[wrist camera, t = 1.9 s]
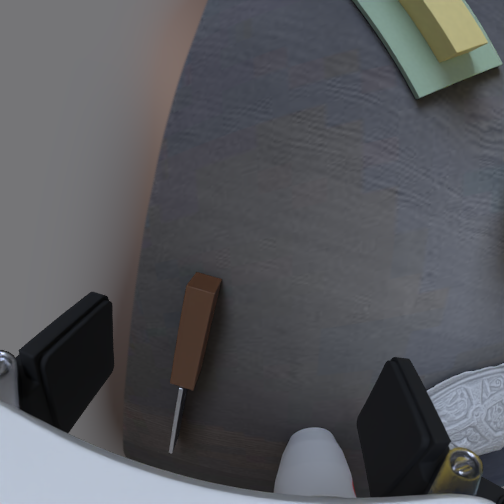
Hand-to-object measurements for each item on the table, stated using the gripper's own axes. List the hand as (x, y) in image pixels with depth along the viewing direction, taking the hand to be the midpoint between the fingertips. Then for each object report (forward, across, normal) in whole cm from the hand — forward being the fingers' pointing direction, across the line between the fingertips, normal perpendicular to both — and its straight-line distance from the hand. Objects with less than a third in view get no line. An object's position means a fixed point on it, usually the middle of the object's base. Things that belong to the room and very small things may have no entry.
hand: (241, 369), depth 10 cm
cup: (+16, -10, +21) cm, 28 cm away
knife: (+16, +5, +14) cm, 21 cm away
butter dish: (+16, -8, -24) cm, 30 cm away
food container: (+16, -31, +15) cm, 38 cm away
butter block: (+15, -10, -22) cm, 28 cm away
